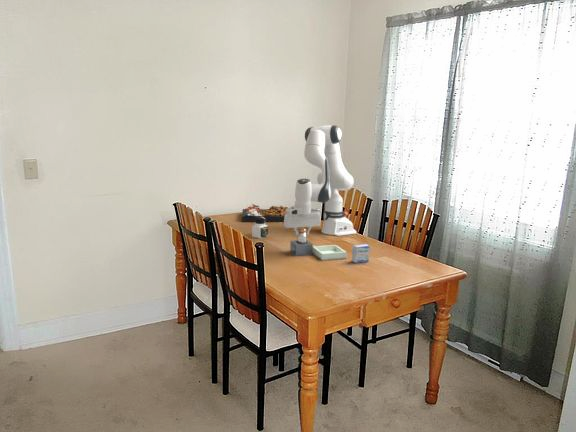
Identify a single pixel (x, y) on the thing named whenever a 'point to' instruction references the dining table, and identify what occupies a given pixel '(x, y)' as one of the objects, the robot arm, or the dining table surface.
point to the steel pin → (302, 236)
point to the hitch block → (301, 248)
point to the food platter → (264, 214)
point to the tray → (329, 252)
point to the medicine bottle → (260, 228)
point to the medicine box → (360, 253)
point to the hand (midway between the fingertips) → (302, 234)
